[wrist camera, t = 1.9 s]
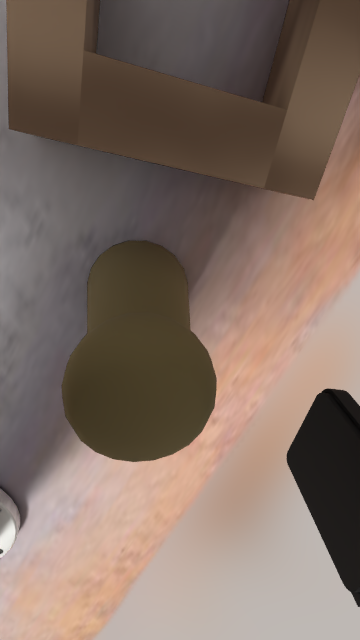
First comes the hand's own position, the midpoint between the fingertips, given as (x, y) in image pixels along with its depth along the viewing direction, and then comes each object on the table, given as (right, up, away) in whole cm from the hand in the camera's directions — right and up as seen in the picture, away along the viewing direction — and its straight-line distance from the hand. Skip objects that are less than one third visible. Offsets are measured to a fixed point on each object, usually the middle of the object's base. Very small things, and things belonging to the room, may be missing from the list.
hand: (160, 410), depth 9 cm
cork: (-2, +5, +10) cm, 11 cm away
